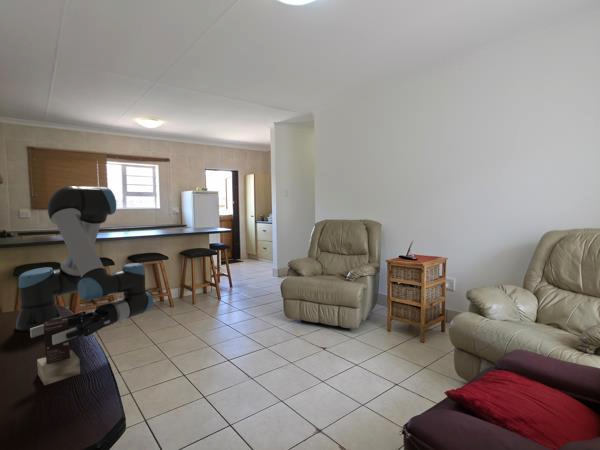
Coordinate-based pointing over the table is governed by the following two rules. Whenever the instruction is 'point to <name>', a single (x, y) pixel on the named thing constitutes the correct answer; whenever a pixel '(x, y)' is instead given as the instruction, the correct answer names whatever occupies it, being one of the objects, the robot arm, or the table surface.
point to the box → (60, 349)
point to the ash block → (58, 369)
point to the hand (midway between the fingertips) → (41, 336)
